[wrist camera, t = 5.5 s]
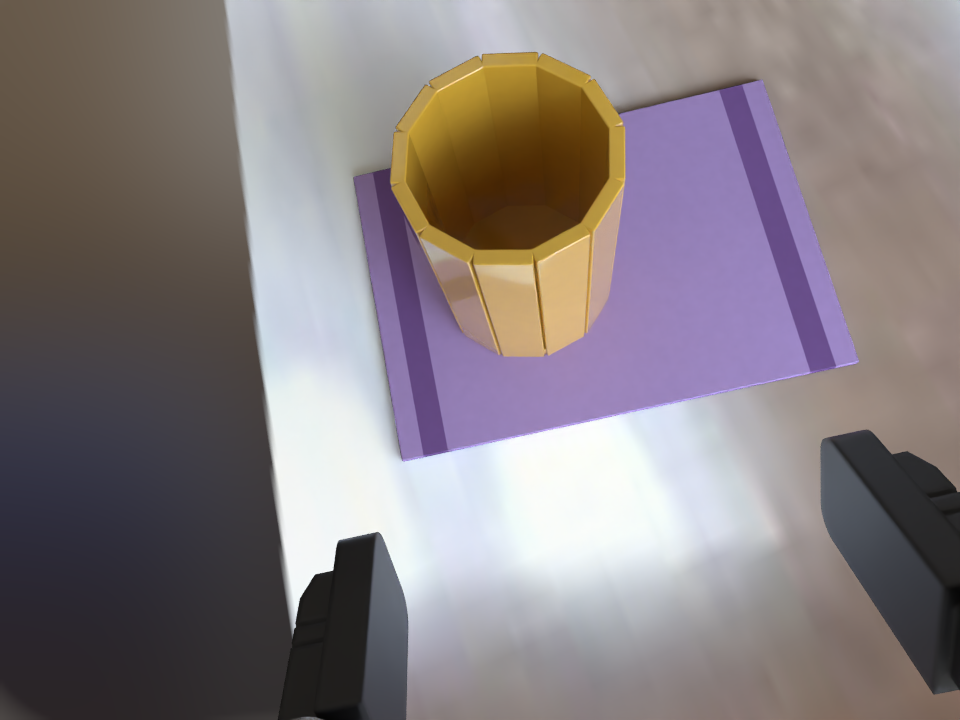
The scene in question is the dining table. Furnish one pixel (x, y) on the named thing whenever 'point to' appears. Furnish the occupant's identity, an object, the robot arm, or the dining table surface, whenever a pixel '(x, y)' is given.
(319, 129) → the dining table surface
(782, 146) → the cloth
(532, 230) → the tumbler
